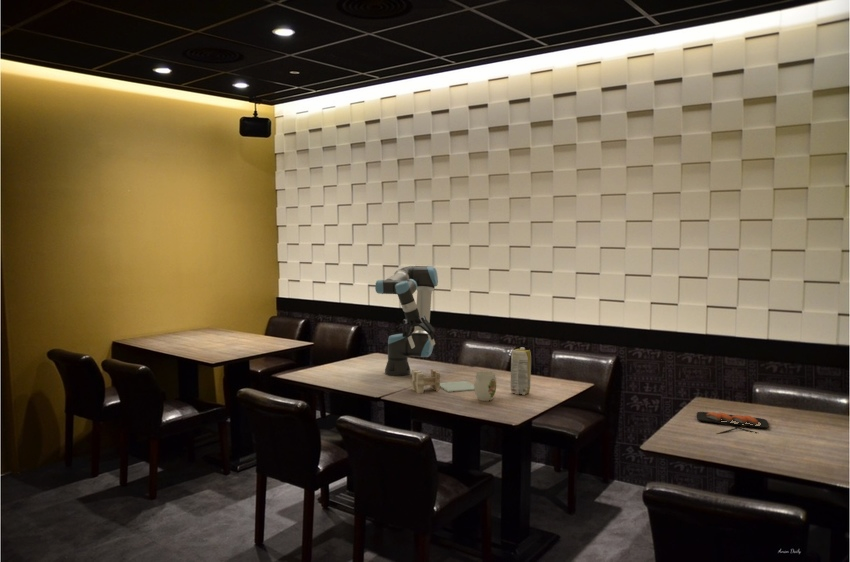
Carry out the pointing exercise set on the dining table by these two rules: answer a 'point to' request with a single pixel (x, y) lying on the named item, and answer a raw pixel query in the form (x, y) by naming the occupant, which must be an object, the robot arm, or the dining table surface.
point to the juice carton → (520, 371)
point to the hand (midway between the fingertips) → (423, 346)
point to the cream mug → (485, 385)
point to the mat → (457, 386)
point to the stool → (425, 380)
